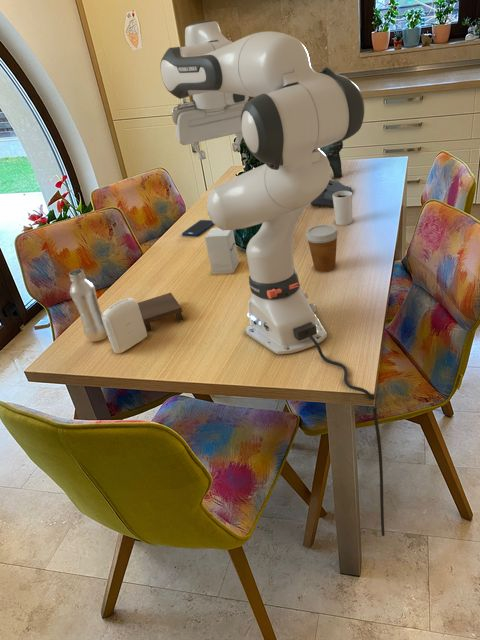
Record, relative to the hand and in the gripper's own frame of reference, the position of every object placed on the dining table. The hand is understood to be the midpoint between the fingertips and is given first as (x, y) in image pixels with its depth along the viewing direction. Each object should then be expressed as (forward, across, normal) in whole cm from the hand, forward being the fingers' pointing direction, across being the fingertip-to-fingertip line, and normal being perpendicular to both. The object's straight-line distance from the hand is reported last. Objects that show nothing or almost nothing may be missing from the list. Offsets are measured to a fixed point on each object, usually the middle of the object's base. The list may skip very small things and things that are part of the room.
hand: (219, 154), depth 144 cm
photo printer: (+39, -36, -12) cm, 54 cm away
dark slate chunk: (+42, +57, +48) cm, 86 cm away
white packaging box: (+40, +1, +15) cm, 43 cm away
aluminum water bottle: (+40, -43, -4) cm, 58 cm away
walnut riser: (+39, -25, -4) cm, 47 cm away
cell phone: (+43, +5, +55) cm, 70 cm away
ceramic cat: (+44, +66, +72) cm, 108 cm away
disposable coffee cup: (+39, +26, -5) cm, 47 cm away
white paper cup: (+40, +49, +23) cm, 68 cm away
